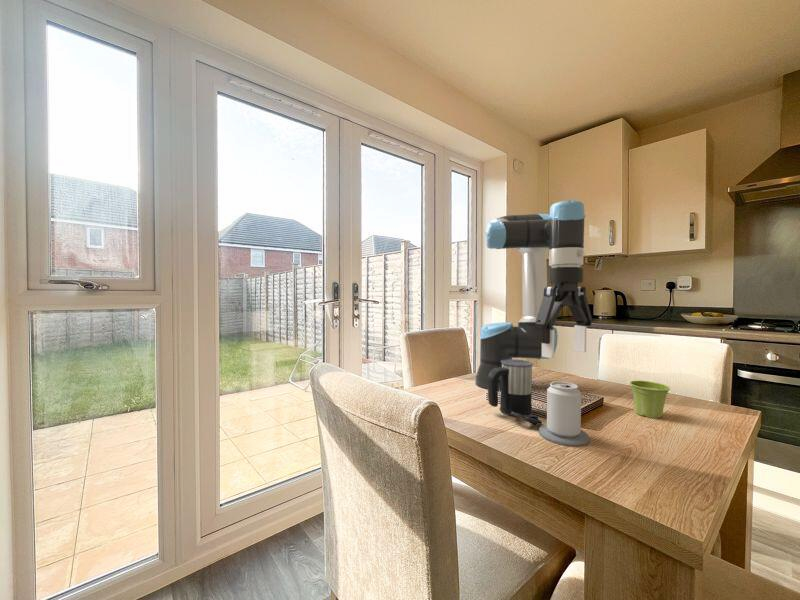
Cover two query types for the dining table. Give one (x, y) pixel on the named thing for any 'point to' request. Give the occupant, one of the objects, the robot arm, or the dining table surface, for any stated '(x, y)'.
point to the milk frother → (513, 389)
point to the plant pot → (649, 398)
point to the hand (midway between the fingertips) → (564, 354)
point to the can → (564, 409)
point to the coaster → (574, 441)
